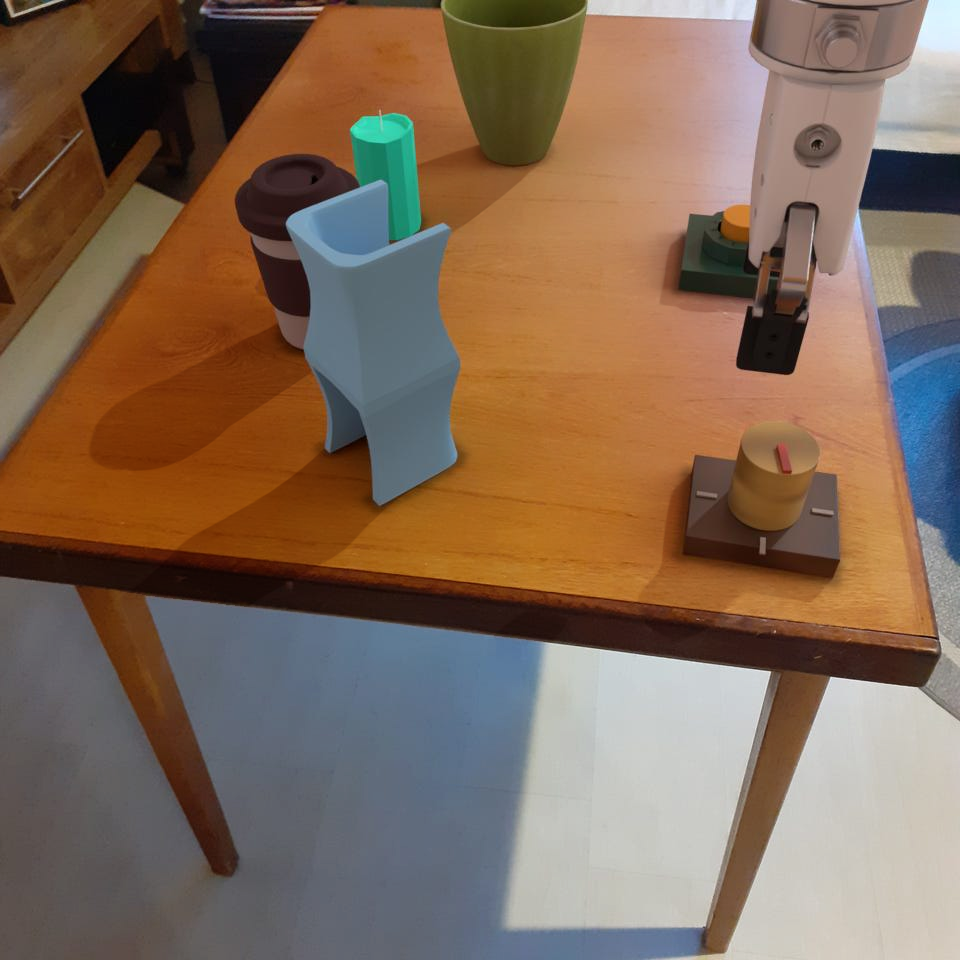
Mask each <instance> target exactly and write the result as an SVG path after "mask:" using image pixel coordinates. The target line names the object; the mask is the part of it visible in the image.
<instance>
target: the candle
mask: <svg viewBox="0 0 960 960" xmlns="http://www.w3.org/2000/svg"><path fill="white" fill-rule="evenodd" d="M378 114H379V115H377V116H376V115H375V116H372V115H371V116H370V115H369V116H368V115H367V116H362V117H360V118H359V119H358V121H356V122H355V123H354V124H353V125H352V126H351V127H350V129H349V134H350V141H351V148H352V156H353V163H354V169H355V178H356V179H357V181H358V182H359V185H360V187H363V186H365V185H368V184H370V183H373V182H376V181H378V180H383V181H384V182H385V183H387V184H388V230H389V241H396V242H397V241H401V240H403V239H405V238H408V237H410V236H413V235H415V234H417V232H419V231H420V228H421V226H422V214H421V211H422V210H421V201H420V200H421V199H420V190H419V188H420V187H419V179H418V178H419V177H418V166H417V153H416V142H415V129H414V122H413V121H412V120H411V119H410V118H409V116H408V115H405V114H401V113H397V112H392V113H387V114H383V115H382V112H381V109H379V110H378Z"/></svg>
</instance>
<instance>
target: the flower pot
mask: <svg viewBox="0 0 960 960" xmlns="http://www.w3.org/2000/svg"><path fill="white" fill-rule="evenodd" d="M588 5H589V0H441V2H440V11H441V15H442V21H443V22H442V23H443V26H444V32H445V37H446V41H447V48H448V50H449V55H450V56H449V57H450V59H451V63H452V68H453V71H454V75H455V79H456V82H457V85H458V88H459V89H458V90H459V92H460V95H461V98H462V102H463V105H464V108H465V109H466V113H467V116H468V118H469V121H470V125H471V127H472V129H473V132H474V134H475V136H476V139H477V141H478V144H479V146H480V149H481V151H482V153H483V155H484V156H485V158H486V159H488V160H489V161H492V162H493V163H496V164H498V165H504V166H525V165H529V164H533V163H536V162H539V161H540V160H542V159H543V158H545V156H547V154H548V152H549V150H550V147H551V145H552V142H553V140H554V139H555V136H556V133H557V130H558V127H559V125H560V122H561V119H562V116H563V113H564V110H565V107H566V104H567V100H568V99H569V98H568V97H569V95H570V94H569V93H570V91H571V88H572V83H573V79H574V76H575V73H576V72H575V71H576V68H577V63H578V60H579V55H580V50H581V44H582V38H583V33H584V28H585V22H586V17H587V11H588Z"/></svg>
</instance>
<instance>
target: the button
mask: <svg viewBox="0 0 960 960" xmlns="http://www.w3.org/2000/svg"><path fill="white" fill-rule="evenodd" d="M723 211H724V213H723V218H722V224H721V229H720V231H721V234H722V235H723V236H724V237H725V238H728V239H730V240H733V241H736V242H746V243H748V240H749V228H750V204H735V205H731V206H729V207H727V208H725V210H723Z"/></svg>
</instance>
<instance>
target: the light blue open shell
mask: <svg viewBox="0 0 960 960" xmlns="http://www.w3.org/2000/svg"><path fill="white" fill-rule="evenodd" d="M286 227H287V230H288V232H289V234H290V237H291V239H292V241H293V243H294V245H295V247H296V250H297V252H298V254H299V257H300V259H301V261H302V264H303V267H304V270H305V272H306V275H307V279H308V283H309V287H310V298H311V309H310V320H309V325H308V330H307V334H306V338H305V342H304V347H303V348H304V350H303V352H304V358H305V360H306V361H307V364H308V365H309V367H310V369H311V371H312V373H313V375H314V377H315V379H316V382H317V384H318V386H319V389H320V392H321V394H322V397H323V400H324V404H325V408H326V409H325V410H326V419H327V420H326V421H327V422H326V423H327V424H326V426H327V427H326V436H325V443H324V449H325V450H326V451H327V452H328V453H329V454H332V453H334V452H336V451H337V450H340V449H341V448H343V447H345V446H347V445H349V444H351V443H353V442H356V441H357V440H359V439H361V438H363V437H365V436H366V440H367V445H368V449H369V456H370V457H369V458H370V464H371V481H372V482H371V483H372V500H373V501H374V503H375V504H376V505H378V507H381V506H382V505H384V504H386V503H388V502H390V501H392V500H393V499H395V498H397V497H399V496H401V495H402V494H404V493H406V492H408V491H410V490H412V489H414V488H415V487H417V486H419V485H421V484H422V483H424V482H426V481H428V480H430V479H431V478H433V477H435V476H437V475H438V474H440V473H443V472H444V471H446V470H447V469H449V468H450V467H452V466H453V465H454V464H455V463H456V462H457V459H458V451H457V448H456V445H455V442H454V438H453V434H452V429H451V406H452V400H453V394H454V392H455V391H454V390H455V388H456V384H457V380H458V377H459V374H460V370H461V356H460V355H459V353H458V351H457V349H456V347H455V346H454V343H453V341H452V340H451V338H450V335H449V333H448V331H447V328H446V326H445V323H444V320H443V317H442V313H441V307H440V301H439V282H440V281H439V280H440V276H441V269H442V264H443V259H444V256H445V252H446V248H447V245H448V242H449V239H450V235H451V231H452V228H451V227H450V226H448V224H446V223H445V222H441V223H439V224H437V225H433V226H432V227H429V228H426V229H425V230H423V231H420V232H418V233H417V232H416V233H414V234H413V235H412V236H410V237H407V238H403V239H400V240H397V241H396V242H393V243H392V244H390V240H389V230H388V184H387V183H385V182H384V181H383V180H378V181H376V182H373V183H370V184H368V185H365V186H363V187H360V188H357V189H355V190H352V191H350V192H347V193H344V194H342V195H339V196H337V197H334V198H331V199H329V200H326V201H323V202H321V203H318V204H316V205H313V206H310V207H308V208H305V209H303V210H301V211H298V212H296V213H294V214H292V215H291V216H290V217H289V218H288V220H287V222H286Z"/></svg>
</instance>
